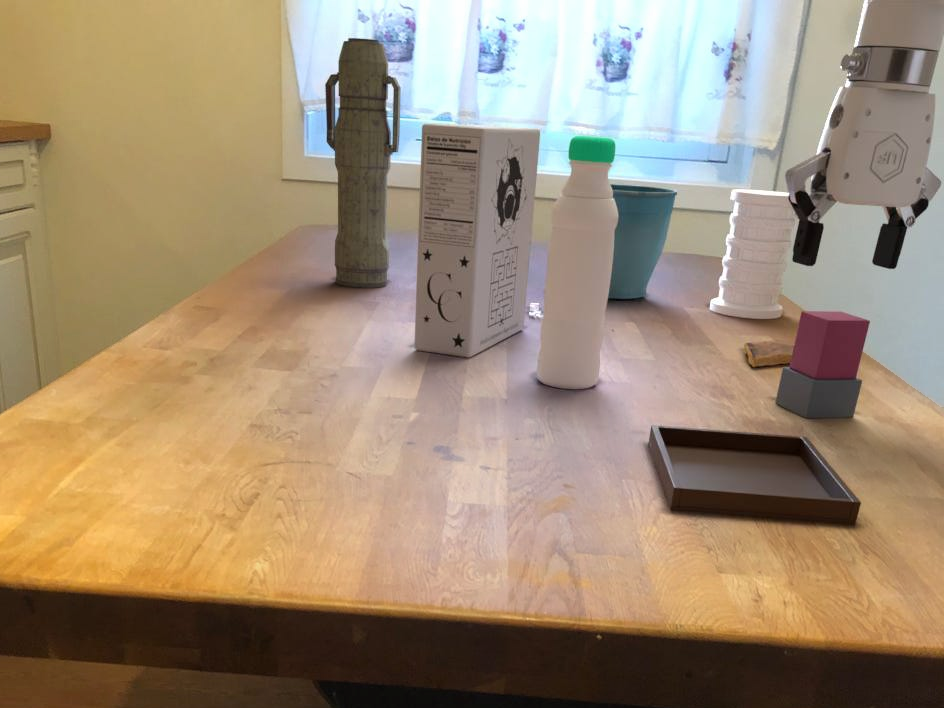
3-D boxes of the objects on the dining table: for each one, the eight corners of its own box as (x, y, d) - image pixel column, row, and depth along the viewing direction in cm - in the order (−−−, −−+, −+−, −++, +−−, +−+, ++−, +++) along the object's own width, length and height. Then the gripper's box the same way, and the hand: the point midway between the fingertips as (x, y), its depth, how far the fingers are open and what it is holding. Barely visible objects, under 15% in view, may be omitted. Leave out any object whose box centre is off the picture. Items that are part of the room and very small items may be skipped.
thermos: (334, 276, 169) (332, 39, 153) (401, 282, 168) (407, 43, 151) (319, 284, 162) (316, 35, 145) (389, 290, 160) (395, 39, 144)
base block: (821, 402, 111) (829, 366, 109) (853, 417, 106) (862, 380, 104) (774, 403, 109) (782, 367, 107) (805, 418, 104) (814, 380, 102)
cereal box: (473, 322, 140) (485, 125, 128) (524, 329, 138) (541, 129, 126) (413, 350, 122) (420, 123, 110) (470, 358, 120) (484, 128, 108)
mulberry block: (828, 367, 108) (841, 311, 106) (856, 379, 104) (870, 320, 101) (789, 368, 107) (801, 311, 104) (815, 379, 103) (829, 320, 100)
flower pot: (542, 295, 165) (553, 184, 157) (573, 282, 180) (584, 180, 172) (648, 308, 159) (664, 194, 151) (671, 294, 174) (687, 189, 166)
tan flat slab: (750, 369, 124) (753, 354, 123) (707, 356, 129) (710, 342, 129) (808, 363, 129) (811, 349, 128) (765, 350, 135) (767, 337, 134)
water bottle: (587, 394, 108) (618, 139, 96) (527, 384, 110) (549, 134, 98) (604, 381, 114) (635, 139, 102) (547, 372, 116) (570, 134, 104)
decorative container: (789, 321, 157) (814, 198, 148) (716, 316, 157) (738, 193, 148) (771, 308, 167) (794, 192, 159) (703, 303, 167) (723, 187, 159)
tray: (801, 461, 91) (806, 436, 90) (854, 530, 76) (861, 502, 75) (647, 449, 91) (651, 424, 90) (669, 515, 76) (674, 487, 75)
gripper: (835, 65, 87) (791, 269, 95) (993, 81, 92) (938, 274, 100) (788, 65, 93) (750, 257, 101) (939, 80, 98) (890, 262, 106)
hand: (843, 265), depth 101 cm, fingers open, 9 cm apart
